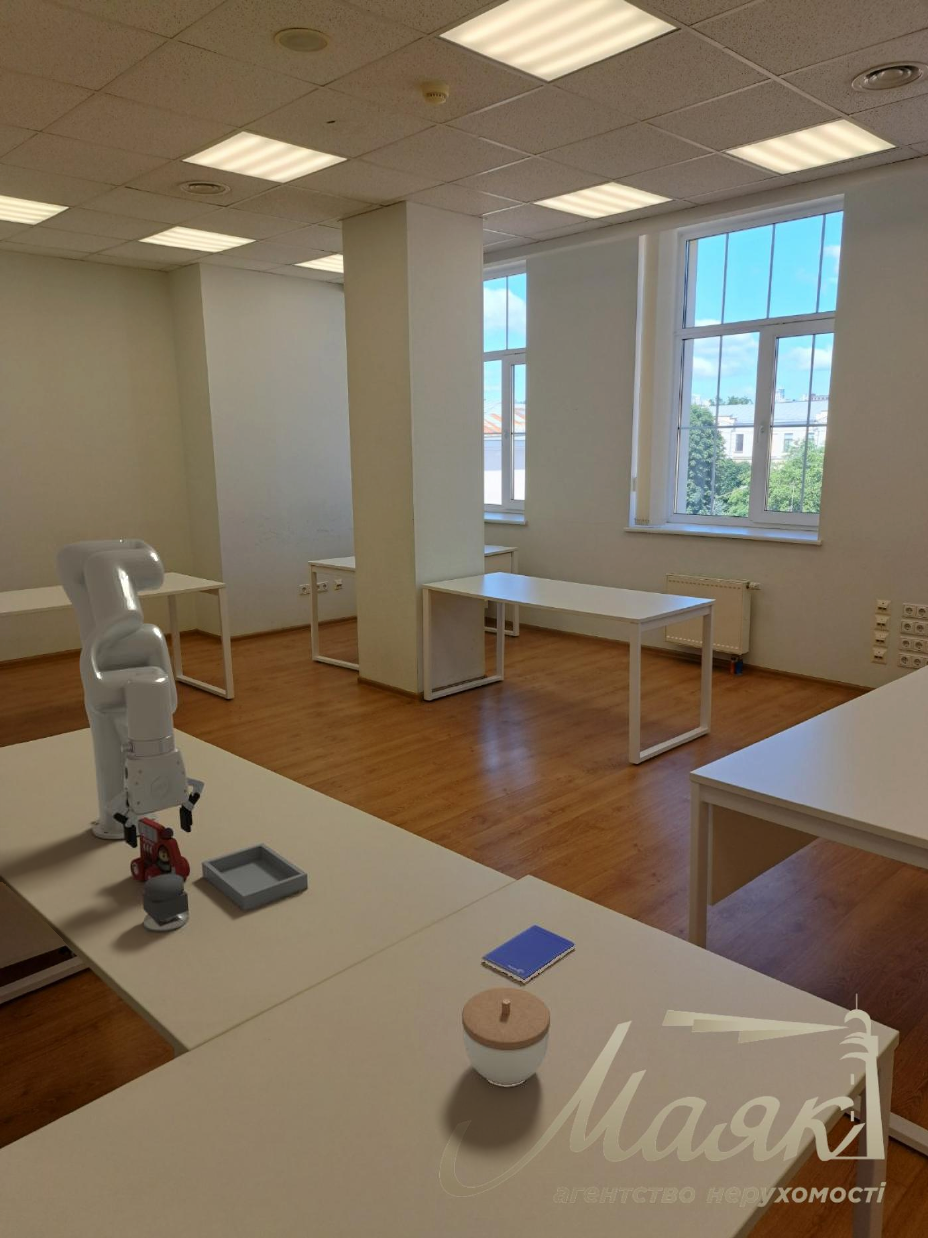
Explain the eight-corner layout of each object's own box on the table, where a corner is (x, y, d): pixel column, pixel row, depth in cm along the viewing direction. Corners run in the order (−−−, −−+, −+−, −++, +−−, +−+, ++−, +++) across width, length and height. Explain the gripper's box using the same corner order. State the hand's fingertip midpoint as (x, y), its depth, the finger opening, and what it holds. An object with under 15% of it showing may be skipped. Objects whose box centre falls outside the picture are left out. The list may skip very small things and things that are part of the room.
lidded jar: (484, 1113, 98) (484, 1040, 97) (448, 1055, 108) (448, 987, 106) (565, 1086, 103) (566, 1015, 101) (524, 1032, 112) (524, 967, 111)
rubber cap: (140, 909, 140) (138, 881, 139) (176, 897, 144) (174, 870, 143) (154, 923, 136) (152, 895, 135) (191, 910, 139) (189, 883, 139)
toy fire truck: (162, 897, 148) (158, 841, 146) (126, 875, 156) (121, 822, 154) (197, 882, 153) (194, 828, 151) (161, 862, 161) (157, 810, 159)
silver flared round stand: (137, 920, 141) (135, 893, 140) (179, 905, 145) (177, 879, 144) (153, 937, 135) (151, 909, 134) (196, 922, 140) (194, 895, 139)
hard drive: (524, 977, 122) (575, 942, 131) (481, 955, 128) (533, 923, 137) (524, 987, 123) (575, 952, 132) (481, 965, 128) (533, 932, 137)
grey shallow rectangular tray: (202, 876, 155) (201, 862, 155) (263, 856, 163) (262, 843, 162) (244, 912, 143) (243, 896, 142) (307, 888, 151) (307, 874, 150)
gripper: (108, 761, 141) (117, 858, 144) (208, 739, 153) (214, 830, 155) (94, 751, 147) (103, 845, 150) (190, 731, 158) (197, 819, 161)
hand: (159, 837), depth 152 cm, fingers open, 9 cm apart
